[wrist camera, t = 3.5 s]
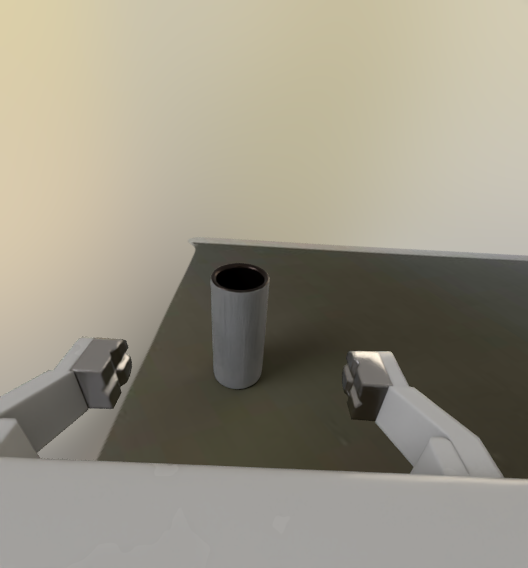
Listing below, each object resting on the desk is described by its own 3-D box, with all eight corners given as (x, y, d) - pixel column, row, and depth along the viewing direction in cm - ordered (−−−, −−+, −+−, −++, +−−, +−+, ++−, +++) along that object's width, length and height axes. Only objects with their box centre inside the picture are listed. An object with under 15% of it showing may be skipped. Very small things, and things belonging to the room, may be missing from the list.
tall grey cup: (209, 388, 27) (205, 289, 21) (217, 352, 30) (215, 261, 25) (261, 391, 27) (269, 293, 21) (262, 354, 30) (269, 264, 25)
